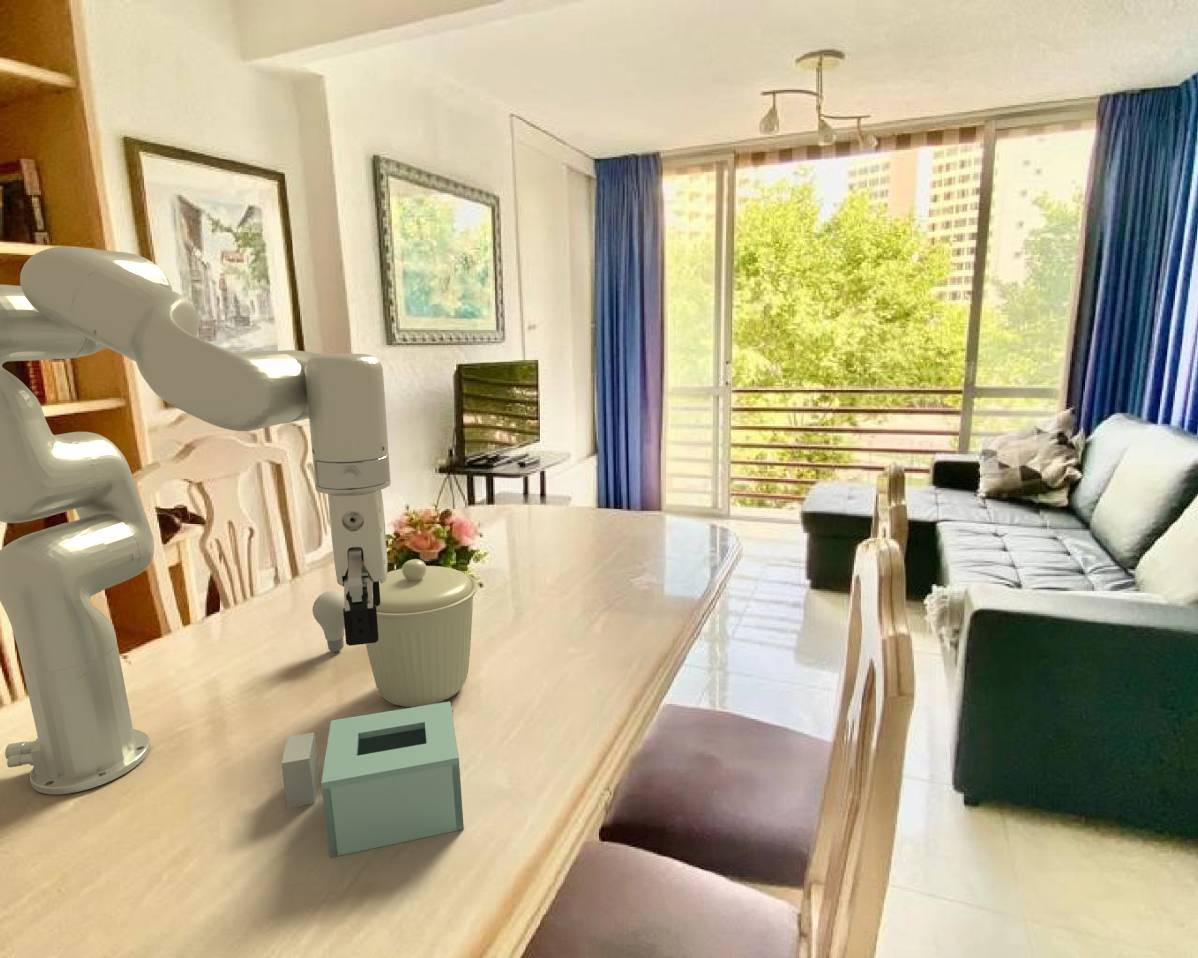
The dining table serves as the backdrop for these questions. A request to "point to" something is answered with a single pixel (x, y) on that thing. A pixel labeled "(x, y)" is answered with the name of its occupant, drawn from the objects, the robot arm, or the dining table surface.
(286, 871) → the dining table surface
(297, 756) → the gray rectangular block
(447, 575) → the canister
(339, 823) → the coin box
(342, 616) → the lightbulb
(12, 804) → the dining table surface
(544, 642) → the dining table surface
